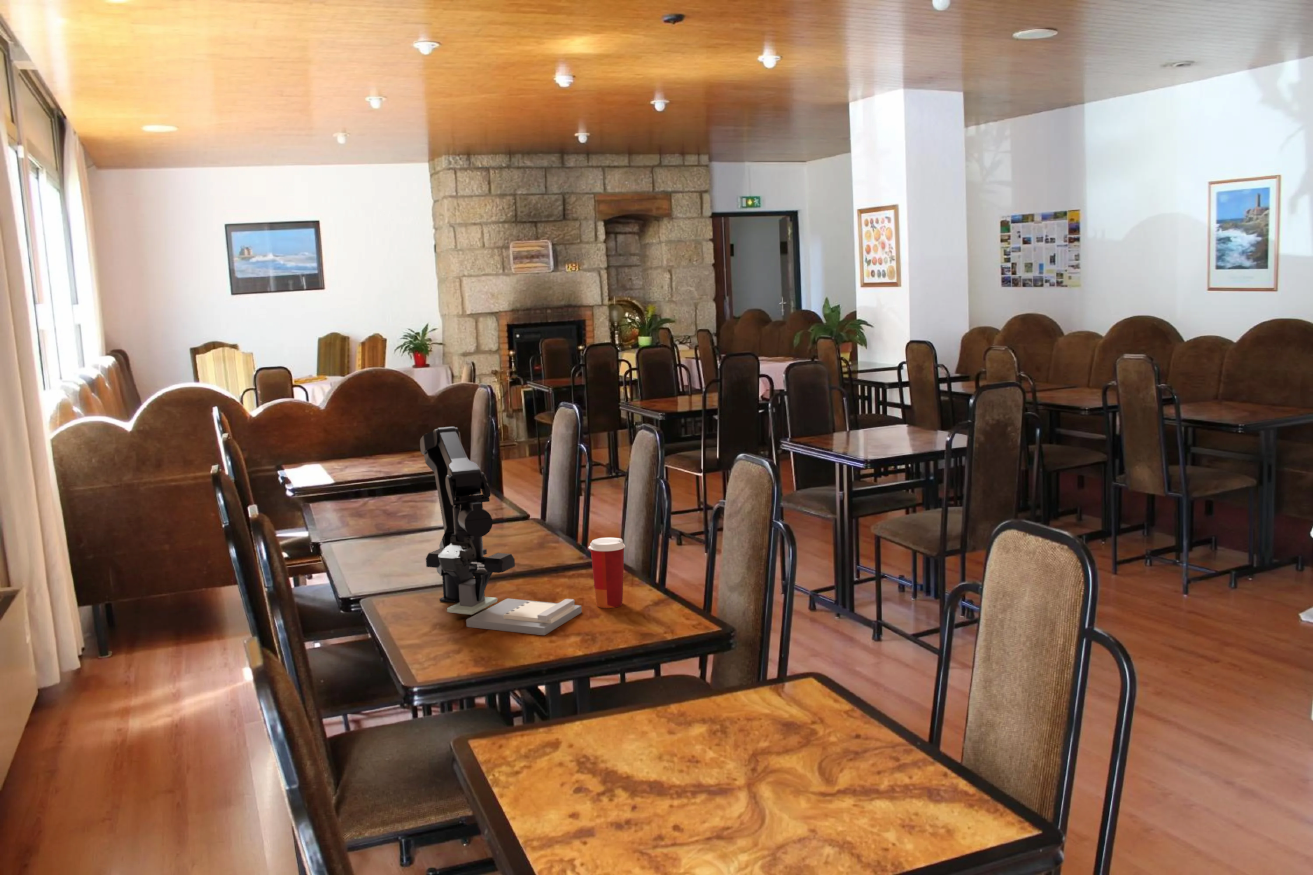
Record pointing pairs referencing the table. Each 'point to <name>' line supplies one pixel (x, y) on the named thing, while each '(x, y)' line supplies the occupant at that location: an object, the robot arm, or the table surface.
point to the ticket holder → (525, 616)
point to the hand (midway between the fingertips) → (472, 600)
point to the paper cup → (608, 571)
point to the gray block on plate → (470, 599)
